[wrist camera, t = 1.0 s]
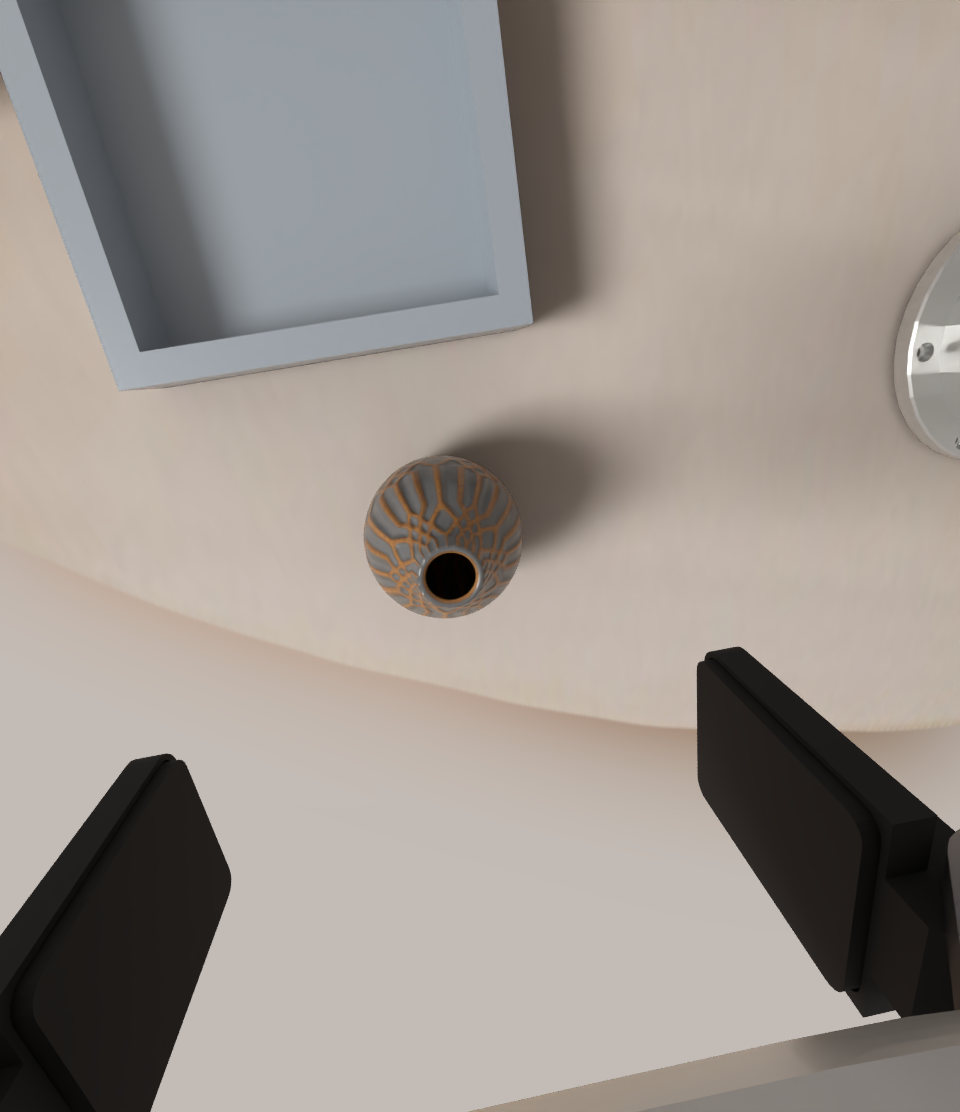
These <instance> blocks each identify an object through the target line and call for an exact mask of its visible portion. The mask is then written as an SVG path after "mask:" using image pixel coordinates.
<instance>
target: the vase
mask: <svg viewBox="0 0 960 1112" xmlns="http://www.w3.org/2000/svg"><path fill="white" fill-rule="evenodd" d="M522 541H523V533H522V525H521V519H520V515H519V512H518V509H517V506H516V504H515V502H514V500H513V498H512V496H511V495H510V493H509V492H508V490H507V489H506V487H505V486H504V485H503V484H502V483H501V482H500V481H499V480H498V479H497V478H496V477H495V476H494V475H493V474H492V473H491V472H489V471H488V470H487V469H485V468H483V467H482V466H480V465H478V464H476V463H474V462H472V461H469V460H467V459H463V458H460V457H455V456H430V457H425V458H421V459H418V460H415V461H413V462H410V463H408V464H406V465H405V466H403V467H401V468H400V469H398V470H397V471H396V472H394V473H393V474H392V475H391V476H390V477H389V478H388V479H387V480H386V481H385V482H384V483H383V484H382V485H381V487H380V488H379V489H378V491H377V493H376V494H375V496H374V498H373V500H372V502H371V504H370V507H369V509H368V512H367V516H366V521H365V527H364V546H365V552H366V556H367V560H368V563H369V566H370V568H371V570H372V573H373V575H374V576H375V578H376V580H377V581H378V583H379V584H380V586H381V587H382V588H383V589H384V591H385V592H386V593H387V594H388V595H389V596H390V597H391V598H392V599H394V600H395V601H396V602H397V603H399V604H400V605H402V606H403V607H405V608H407V609H408V610H410V611H413V612H415V613H418V614H421V615H424V616H428V617H434V618H455V617H460V616H464V615H468V614H471V613H473V612H476V611H478V610H480V609H482V608H483V607H485V606H487V605H488V604H489V603H491V602H492V601H493V600H495V599H496V598H497V597H498V596H499V595H500V594H501V593H502V592H503V591H504V589H505V588H506V587H507V585H508V584H509V582H510V581H511V579H512V577H513V575H514V573H515V571H516V569H517V566H518V563H519V560H520V556H521V551H522Z"/></svg>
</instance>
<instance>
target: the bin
mask: <svg viewBox="0 0 960 1112" xmlns="http://www.w3.org/2000/svg"><path fill="white" fill-rule="evenodd" d="M0 72H1V74H2V77H3V80H4V83H5V85H6V88H7V91H8V93H9V96H10V99H11V101H12V104H13V107H14V110H15V112H16V115H17V118H18V120H19V123H20V126H21V128H22V131H23V134H24V136H25V139H26V142H27V145H28V147H29V150H30V153H31V155H32V158H33V161H34V163H35V166H36V169H37V171H38V174H39V177H40V180H41V182H42V185H43V188H44V190H45V193H46V196H47V198H48V201H49V204H50V206H51V209H52V212H53V215H54V217H55V220H56V223H57V225H58V228H59V231H60V233H61V236H62V239H63V242H64V244H65V247H66V250H67V252H68V255H69V258H70V260H71V263H72V266H73V268H74V271H75V274H76V277H77V279H78V282H79V285H80V287H81V290H82V293H83V295H84V298H85V301H86V303H87V306H88V309H89V312H90V314H91V317H92V320H93V322H94V325H95V328H96V330H97V333H98V336H99V338H100V341H101V344H102V347H103V349H104V352H105V355H106V357H107V360H108V363H109V365H110V368H111V371H112V374H113V376H114V379H115V382H116V384H117V387H118V390H119V391H127V390H142V389H158V388H168V387H174V386H180V385H186V384H192V383H198V382H204V381H210V380H216V379H222V378H228V377H235V376H241V375H247V374H253V373H259V372H265V371H271V370H277V369H283V368H289V367H295V366H302V365H308V364H314V363H320V362H326V361H332V360H338V359H344V358H350V357H356V356H363V355H369V354H375V353H381V352H387V351H393V350H399V349H405V348H411V347H417V346H423V345H430V344H436V343H442V342H448V341H454V340H460V339H466V338H472V337H478V336H484V335H490V334H497V333H503V332H509V331H515V330H518V329H520V328H523V327H525V326H528V325H530V324H532V323H533V317H532V308H531V299H530V290H529V281H528V273H527V264H526V255H525V246H524V237H523V228H522V219H521V210H520V201H519V193H518V184H517V175H516V166H515V157H514V148H513V139H512V130H511V121H510V113H509V104H508V95H507V86H506V77H505V68H504V59H503V50H502V42H501V33H500V24H499V15H498V6H497V0H0Z"/></svg>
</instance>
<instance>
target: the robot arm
mask: <svg viewBox="0 0 960 1112" xmlns="http://www.w3.org/2000/svg"><path fill="white" fill-rule="evenodd" d="M894 386H895V391H896V395H897V400H898V404H899V408H900V410H901V412H902V414H903V417H904V419H905V421H906V423H907V425H908V427H909V428H910V429H911V430H912V432H913V433H914V434H915V435H916V437H917V438H918V439H919V440H920V441H921V442H923V443H924V444H925V445H927V446H928V447H929V448H931V449H932V450H933V451H935V452H938V453H940V454H943V455H945V456H948V457H951V458H956V459H960V231H959V232H958V233H957V234H955V235H954V236H953V237H952V238H951V240H950V241H949V242H948V243H947V244H946V245H945V247H944V248H943V249H942V250H941V251H940V252H939V253H938V255H937V256H936V257H935V258H934V259H933V261H932V262H931V264H930V265H929V267H928V269H927V270H926V272H925V273H924V275H923V276H922V278H921V279H920V281H919V282H918V284H917V286H916V288H915V290H914V293H913V295H912V297H911V299H910V301H909V303H908V305H907V307H906V310H905V313H904V316H903V319H902V323H901V326H900V329H899V332H898V336H897V342H896V349H895V356H894ZM697 742H698V743H697V754H698V782H699V786H700V789H701V791H702V794H703V796H704V797H705V799H706V801H707V802H708V804H709V805H710V807H711V808H712V810H713V811H714V813H715V814H716V816H717V817H718V819H719V820H720V822H721V823H722V825H723V826H724V828H725V829H726V831H727V832H728V834H729V835H730V837H731V838H732V840H733V841H734V843H735V844H736V846H737V847H738V849H739V850H740V852H741V853H742V855H743V856H744V858H745V859H746V861H747V862H748V864H749V865H750V867H751V868H752V870H753V871H754V873H755V874H756V876H757V877H758V879H759V880H760V882H761V883H762V885H763V886H764V888H765V889H766V891H767V892H768V894H769V895H770V897H771V898H772V900H773V901H774V903H775V904H776V906H777V907H778V909H779V910H780V912H781V913H782V915H783V916H784V918H785V919H786V921H787V922H788V924H789V925H790V927H791V928H792V930H793V931H794V933H795V934H796V936H797V937H798V939H799V940H800V942H801V943H802V945H803V946H804V948H805V949H806V951H807V952H808V954H809V955H810V957H811V958H812V960H813V961H814V963H815V964H816V966H817V967H818V969H819V970H820V972H821V973H822V975H823V976H824V978H825V979H826V980H827V982H828V983H829V984H830V986H831V987H833V988H834V990H836V991H838V992H842V991H845V992H846V993H847V995H848V996H849V997H850V999H851V1000H852V1002H853V1003H854V1005H855V1006H856V1008H857V1009H858V1010H859V1012H860V1014H861V1015H862V1016H863V1017H868V1016H872V1015H876V1014H881V1013H885V1012H889V1011H894V1010H896V1011H897V1013H898V1014H899V1015H900V1017H901V1018H899V1019H894V1020H890V1021H884V1022H880V1023H874V1024H869V1025H864V1026H859V1027H854V1028H849V1029H844V1030H839V1031H834V1032H829V1033H824V1034H819V1035H814V1036H808V1037H803V1038H799V1039H793V1040H789V1041H783V1042H779V1043H774V1044H770V1045H765V1046H760V1047H757V1048H751V1049H747V1050H743V1051H738V1052H733V1053H729V1054H724V1055H720V1056H716V1057H711V1058H706V1059H702V1060H697V1061H693V1062H688V1063H684V1064H679V1065H675V1066H671V1067H666V1068H661V1069H656V1070H652V1071H648V1072H643V1073H639V1074H634V1075H630V1076H625V1077H620V1078H616V1079H611V1080H607V1081H603V1082H598V1083H593V1084H589V1085H584V1086H580V1087H575V1088H571V1089H567V1090H563V1091H558V1092H553V1093H549V1094H545V1095H541V1096H536V1097H531V1098H527V1099H522V1100H518V1101H514V1102H509V1103H505V1104H500V1105H496V1106H492V1107H487V1108H483V1109H478V1110H474V1111H470V1112H960V829H959V830H957V831H956V832H955V831H954V830H953V829H951V828H950V827H949V826H948V825H947V824H946V823H944V822H943V821H942V820H941V819H940V818H939V817H938V816H937V815H936V814H935V813H934V812H933V811H932V810H930V809H929V808H928V807H927V806H926V805H925V804H923V803H922V802H921V801H920V800H919V799H918V798H916V797H915V796H914V795H913V794H912V793H911V792H909V791H908V790H907V789H906V788H905V787H904V786H903V785H901V784H900V783H899V782H898V781H897V780H896V779H894V778H893V777H892V776H891V775H890V774H889V773H887V772H886V771H885V770H884V769H883V768H882V767H880V766H879V765H878V764H877V763H876V762H875V761H873V760H872V759H871V758H870V757H869V756H868V755H866V754H865V753H864V752H863V751H862V750H860V749H859V748H858V747H857V746H856V745H855V744H854V743H852V742H851V741H850V740H849V739H848V738H847V737H845V736H844V735H843V734H842V733H841V732H840V731H839V730H837V729H836V728H835V727H834V726H833V725H832V724H830V723H829V722H828V721H827V720H826V719H825V718H823V717H822V716H821V715H820V714H819V713H818V712H816V711H815V710H814V709H813V708H812V707H811V706H809V705H808V704H807V703H806V702H805V701H804V700H802V699H801V698H800V697H799V696H798V695H797V694H795V693H794V692H793V691H792V690H791V689H790V688H788V687H787V686H786V685H785V684H784V683H783V682H781V681H780V680H779V679H778V678H777V677H776V676H775V675H773V674H772V673H771V672H770V671H769V670H768V669H766V668H765V667H764V666H763V665H762V664H761V663H759V662H758V661H757V660H756V659H755V658H754V657H752V656H751V655H750V654H749V653H748V652H747V651H745V650H744V649H743V648H741V647H733V648H727V649H722V650H717V651H711V652H708V653H707V654H706V656H705V660H704V661H702V662H699V663H698V665H697ZM230 888H231V873H230V870H229V867H228V864H227V862H226V860H225V857H224V855H223V852H222V850H221V847H220V845H219V843H218V840H217V838H216V836H215V833H214V831H213V828H212V826H211V823H210V821H209V818H208V816H207V814H206V811H205V809H204V807H203V804H202V802H201V799H200V797H199V794H198V792H197V790H196V787H195V785H194V783H193V780H192V778H191V775H190V773H189V770H188V768H187V766H186V764H185V762H183V761H182V760H176V759H175V757H173V756H172V755H171V754H162V755H156V756H151V757H146V758H141V759H135V760H133V761H131V762H130V763H129V764H128V765H127V766H126V767H125V769H124V770H123V771H122V773H121V774H120V775H119V777H118V778H117V779H116V781H115V782H114V783H113V785H112V786H111V787H110V789H109V790H108V792H107V793H106V794H105V796H104V797H103V798H102V800H101V801H100V802H99V804H98V805H97V806H96V808H95V809H94V811H93V812H92V813H91V814H90V816H89V817H88V818H87V820H86V821H85V822H84V824H83V825H82V827H81V828H80V829H79V831H78V832H77V833H76V835H75V836H74V837H73V839H72V840H71V841H70V843H69V844H68V845H67V847H66V848H65V850H64V851H63V852H62V853H61V855H60V856H59V858H58V859H57V860H56V862H55V863H54V864H53V866H52V867H51V868H50V870H49V871H48V872H47V874H46V875H45V876H44V878H43V879H42V880H41V882H40V883H39V884H38V886H37V887H36V888H35V890H34V891H33V893H32V894H31V895H30V897H29V898H28V899H27V901H26V902H25V903H24V905H23V906H22V908H21V909H20V910H19V911H18V913H17V914H16V915H15V917H14V918H13V919H12V921H11V922H10V924H9V925H8V926H7V928H6V929H5V930H4V932H3V933H2V934H1V936H0V1112H150V1111H151V1108H152V1105H153V1102H154V1099H155V1097H156V1094H157V1091H158V1088H159V1086H160V1083H161V1080H162V1078H163V1075H164V1072H165V1069H166V1067H167V1064H168V1061H169V1058H170V1056H171V1053H172V1050H173V1047H174V1044H175V1042H176V1039H177V1036H178V1034H179V1031H180V1028H181V1025H182V1023H183V1020H184V1017H185V1014H186V1012H187V1009H188V1006H189V1003H190V1001H191V998H192V995H193V992H194V990H195V987H196V984H197V982H198V979H199V976H200V973H201V971H202V968H203V965H204V962H205V959H206V957H207V954H208V951H209V949H210V946H211V943H212V940H213V937H214V935H215V932H216V929H217V927H218V924H219V921H220V918H221V915H222V913H223V910H224V907H225V904H226V902H227V899H228V896H229V893H230Z"/></svg>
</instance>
